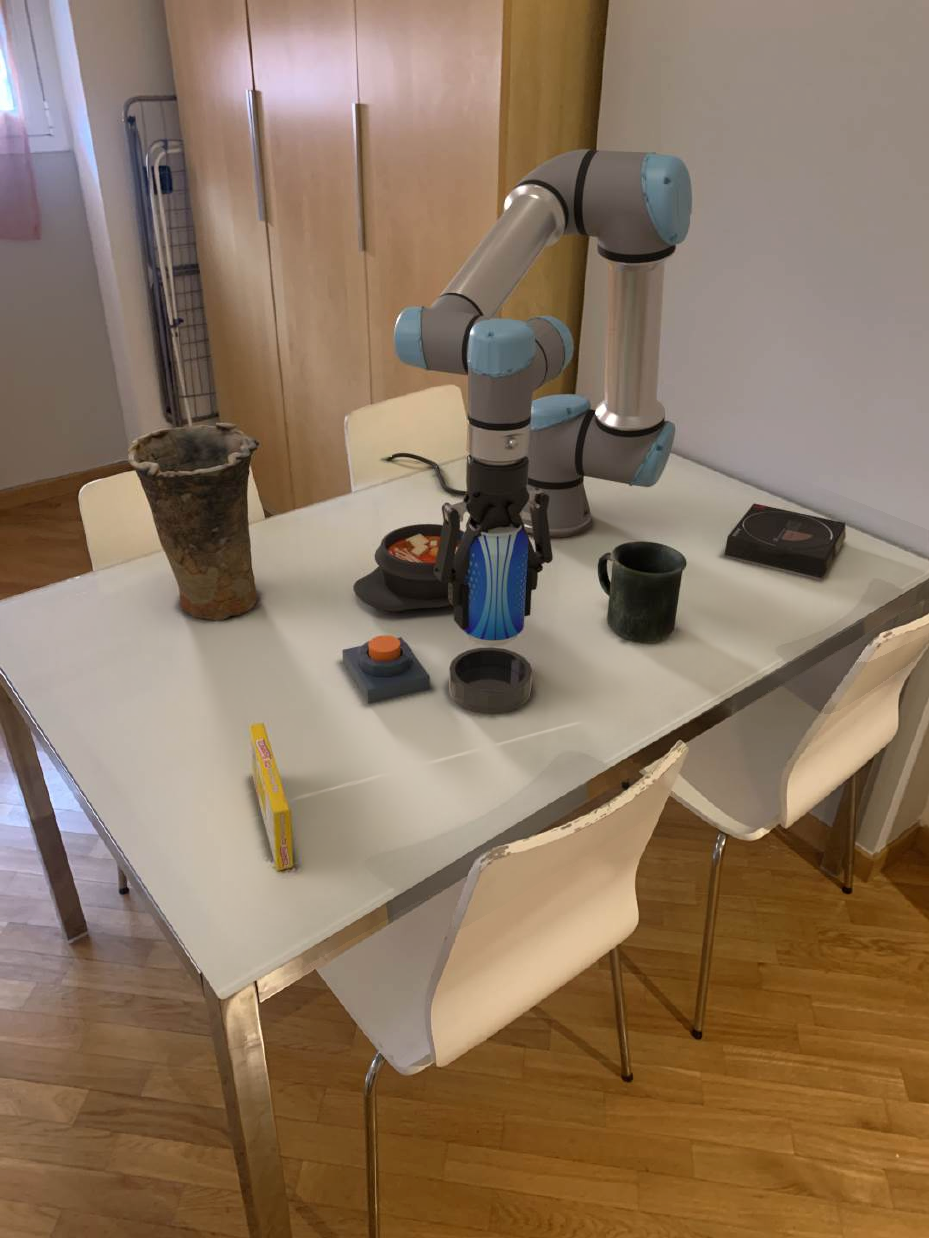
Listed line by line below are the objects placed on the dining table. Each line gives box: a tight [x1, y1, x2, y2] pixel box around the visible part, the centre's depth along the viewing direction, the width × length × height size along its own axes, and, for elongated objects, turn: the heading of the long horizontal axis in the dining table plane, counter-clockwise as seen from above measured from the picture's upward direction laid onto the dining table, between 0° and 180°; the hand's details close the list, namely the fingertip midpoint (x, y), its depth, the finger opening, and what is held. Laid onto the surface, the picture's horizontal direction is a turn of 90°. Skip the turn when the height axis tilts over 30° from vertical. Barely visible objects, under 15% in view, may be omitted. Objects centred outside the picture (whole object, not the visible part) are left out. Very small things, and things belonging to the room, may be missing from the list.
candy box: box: [249, 722, 294, 871], centre depth 109 cm, size 16×2×8 cm, turn 20°
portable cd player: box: [723, 502, 847, 581], centre depth 172 cm, size 16×17×4 cm
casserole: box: [352, 523, 465, 612], centre depth 157 cm, size 25×19×8 cm
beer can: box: [462, 524, 528, 647], centre depth 126 cm, size 8×8×16 cm
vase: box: [127, 422, 260, 621], centre depth 148 cm, size 18×18×27 cm
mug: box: [597, 540, 688, 644], centre depth 148 cm, size 11×15×12 cm
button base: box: [341, 636, 431, 704], centre depth 136 cm, size 11×9×4 cm
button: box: [368, 634, 401, 662], centre depth 135 cm, size 4×4×2 cm
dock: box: [448, 646, 533, 715], centre depth 134 cm, size 11×11×4 cm
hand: (492, 617), depth 128 cm, fingers closed on beer can, 8 cm apart
